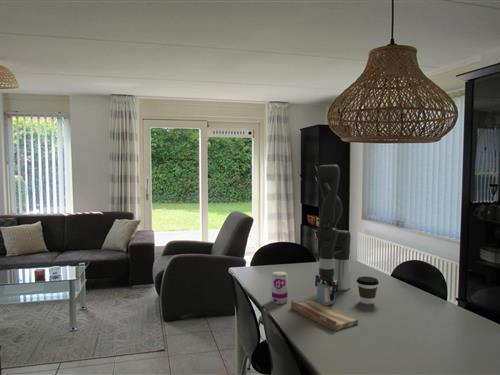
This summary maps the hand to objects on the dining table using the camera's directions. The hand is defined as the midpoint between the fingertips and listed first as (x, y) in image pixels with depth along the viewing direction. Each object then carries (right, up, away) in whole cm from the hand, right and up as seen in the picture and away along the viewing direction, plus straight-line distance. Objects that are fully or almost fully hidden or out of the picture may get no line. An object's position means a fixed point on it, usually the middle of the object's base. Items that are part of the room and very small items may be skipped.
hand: (326, 298), depth 201 cm
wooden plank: (-5, -4, -17) cm, 18 cm away
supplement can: (-23, -3, +2) cm, 24 cm away
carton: (0, -3, 0) cm, 3 cm away
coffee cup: (+21, -3, +2) cm, 22 cm away
